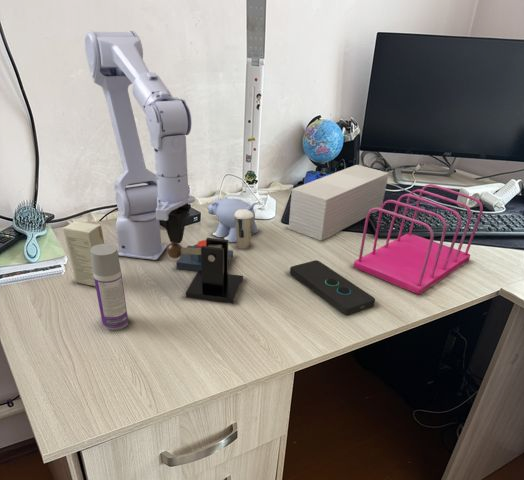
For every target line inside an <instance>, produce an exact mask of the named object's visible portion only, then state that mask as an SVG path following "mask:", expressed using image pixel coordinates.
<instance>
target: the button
mask: <svg viewBox="0 0 524 480" xmlns="http://www.w3.org/2000/svg"><path fill="white" fill-rule="evenodd" d="M196 244H197V248H201V247H202V246H206V239H204V240H203V239H202V240H199V241H198V242H197V243H196Z"/></svg>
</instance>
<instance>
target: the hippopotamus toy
mask: <svg viewBox="0 0 524 480" xmlns="http://www.w3.org/2000/svg"><path fill="white" fill-rule="evenodd" d="M257 204H258V202H253V203H251V204H249V203H248V202H247V201H245V200H242V199H239V198H228V197H224V198H220V197H219V198H216V199H214V200H213V201H212V203H211V204H210V203H208V204H207V210H208V214H209V215H212V216H216V218H217V220H218V225H217V228H216V231H213V233H212V235H213V236H215V237H217V238H223V239H224V240H228V243H236V227H235V218H234V214H235V212H236V211H237V210H239V209H247V210H249V211H251V212H252V213H253V222H252V229H251V235H252V234H257V233H259V229H258V227H257V224H256V222H255V221H256V211H255V209H254V208H255V205H257Z"/></svg>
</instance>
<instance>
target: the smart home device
mask: <svg viewBox="0 0 524 480" xmlns="http://www.w3.org/2000/svg"><path fill="white" fill-rule="evenodd" d="M289 275H290V276H291V277H293V278H294V279H295V280H297V281H298V282H300V283H301V284H302V285H304V286H305V287H306V288H307V289H309V290H310V291H312V292H313V293H315V294H316V295H317V296H318V297H320V298H321V299H322V300H324V301H325V302H327V303H328V304H329V305H331V306H332V307H333V308H335V309H336V310H337V311H339V312H340V313H341V314H343V315H345V316H350V315H352V314H356V313H359V312H361V311H364V310H367V309H370V308H373V307H375V302H376V298H375V297H374V296H372V294H369V293H368V292H367V291H365V290H363V289H362V288H360V287H359V286H357V285H356V284H354V283H353V282H351V281H350V280H349V279H347V278H345V277H344V276H342V275H341V274H339V273H338V272H336V271H335V270H333V269H332V268H330V266H327V265H326V264H324V263H323V262H321V261H320V260H317V259H315V260H311V261H308V262H304V263H303V262H302V263H299V264H296V265H291V266H290V268H289Z"/></svg>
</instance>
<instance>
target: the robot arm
mask: <svg viewBox="0 0 524 480" xmlns="http://www.w3.org/2000/svg"><path fill="white" fill-rule="evenodd" d="M84 47H85V48H84V52H85V56H86V57H85V58H86V60H87V65H88V68H89V72H90V75H91V78H92V81H93V83H94V84H95V85H97V86H99V87H101V89H102V91H103V95H104V98H105V101H106V104H107V109H108V113H109V114H108V115H109V117H110V121H111V125H112V129H113V134H114V136H115V141H116V146H117V150H118V154H119V159H120V163H121V165H122V169H123V170H122V172H121V174H120V175H119V176H118V178H116V180H115V182H114V185H113V187H114V193H115V203H116V207H117V209H118V212H119V214H118V216H117V218H116V224H115V231H116V239H117V247H118V256H120V257H126V258H127V257H128V258H136V259H143V260H151V261H157V260H159V258H160V257H161V256H162V255H163V253H164V252H165V250H167V246H168V244H167V243H162V236H161V224H160V221H162V223H163V225H164V227H165V231H166V233H167V236H168V239H169V242H170V243H178V244H181V243H182V242H183V238H184V234H185V233H184V232H185V228H186V227H185V226H186V222H187V218H188V215H189V212H190V211H191V208H192V205H191V204H193V203H194V202H195V200H196V198H195V196H192V195H190V185H189V177H188V153H187V151H188V150H187V136H189V135H190V133H191V131H192V115H191V111H190V107H189V105H188V103H187V102H186V100H185V99H184V98H179V97H178V96H177V97H174V96H173V94H172V93H171V92H170V90H169V88H168V87H167V86H166V85H165V83H164V82H163V80H162V78H161V77H160V76H159V74H157V73H156V72H153V71H149V69H148V67H147V65H146V63H145V60H144V48H143V44H142V41H141V38H140V36H139V35H138V33H137V32H136V31H134V30H130V31H94V30H88V31H87V32H86V34H85V37H84ZM129 86H132V87H131V91H132V95H133V97H134V99H135V100H136V102H137V104H138V105H139V106H140V108H141V109H142V111H143V113H144V114H145V122H146V126H147V130H148V133H149V140H150V143H151V147H153V150H154V162H155V163H154V164H155V173H154V172H153V171H151V170H150V169H148V168H147V167H146V162H145V157H144V154H143V149H142V145H141V141H140V136H139V132H138V128H137V124H136V119H135V115H134V110H133V107H132V101H131V98H130V94H129ZM139 184H140V185H139Z"/></svg>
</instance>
